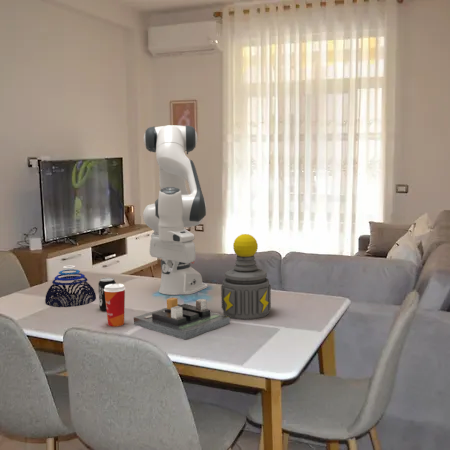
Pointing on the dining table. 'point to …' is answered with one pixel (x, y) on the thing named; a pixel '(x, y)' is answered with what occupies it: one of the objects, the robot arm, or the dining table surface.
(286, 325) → the dining table surface
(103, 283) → the beverage can
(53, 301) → the decorative bowl
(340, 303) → the dining table surface
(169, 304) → the block
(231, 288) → the decorative lamp
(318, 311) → the dining table surface
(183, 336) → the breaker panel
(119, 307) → the paper cup
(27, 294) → the dining table surface
